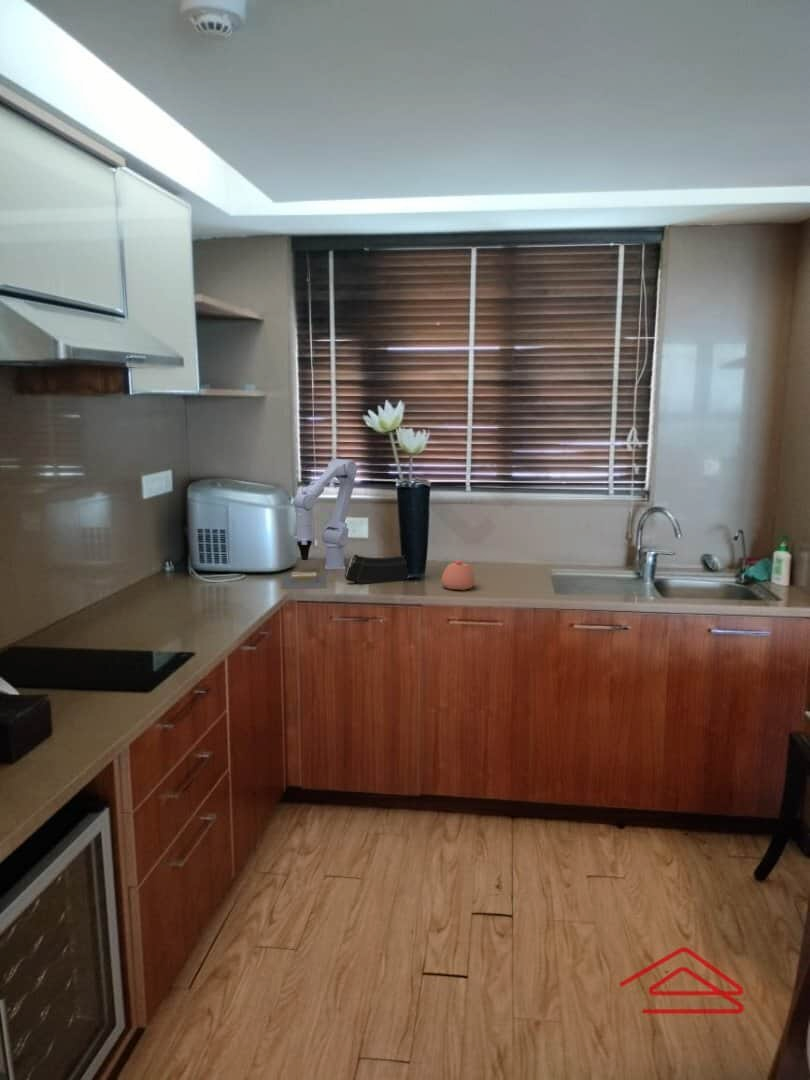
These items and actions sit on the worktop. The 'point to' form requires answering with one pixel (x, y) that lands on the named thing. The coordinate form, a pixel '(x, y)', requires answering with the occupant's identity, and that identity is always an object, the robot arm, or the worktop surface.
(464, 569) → the sugar bowl
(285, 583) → the mat
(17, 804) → the worktop surface
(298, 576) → the tile
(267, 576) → the worktop surface
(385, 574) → the magazine
